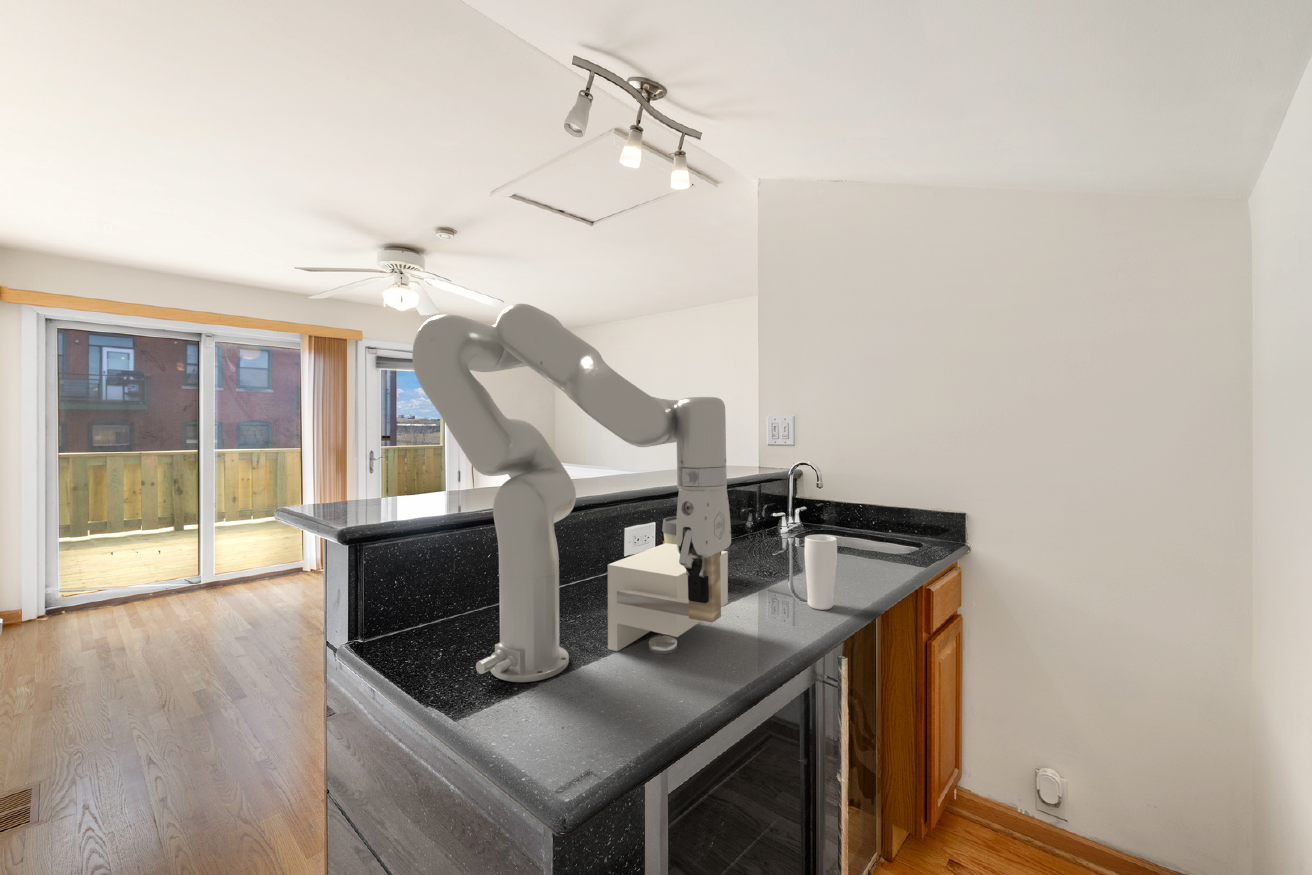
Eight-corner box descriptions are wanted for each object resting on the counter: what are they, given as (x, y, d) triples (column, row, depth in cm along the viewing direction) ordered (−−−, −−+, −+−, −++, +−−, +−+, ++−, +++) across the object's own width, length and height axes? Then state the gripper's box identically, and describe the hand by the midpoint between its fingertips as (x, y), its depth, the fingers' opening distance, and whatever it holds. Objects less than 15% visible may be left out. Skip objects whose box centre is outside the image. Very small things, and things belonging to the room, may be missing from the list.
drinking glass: (808, 599, 124) (809, 533, 124) (839, 604, 121) (840, 536, 120) (800, 608, 118) (800, 538, 118) (832, 614, 115) (833, 542, 114)
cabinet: (678, 667, 90) (678, 576, 89) (607, 648, 97) (607, 564, 97) (728, 628, 107) (728, 551, 106) (665, 614, 114) (665, 543, 114)
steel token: (668, 657, 94) (668, 649, 94) (643, 651, 97) (643, 643, 97) (681, 647, 99) (681, 639, 98) (657, 641, 101) (657, 633, 101)
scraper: (712, 622, 82) (711, 549, 82) (614, 604, 91) (612, 538, 91) (721, 616, 85) (719, 545, 84) (624, 599, 94) (623, 534, 94)
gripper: (699, 485, 75) (702, 618, 75) (745, 474, 89) (747, 587, 89) (652, 482, 79) (655, 610, 79) (703, 472, 93) (705, 581, 93)
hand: (703, 596), depth 84 cm, fingers closed on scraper, 3 cm apart
